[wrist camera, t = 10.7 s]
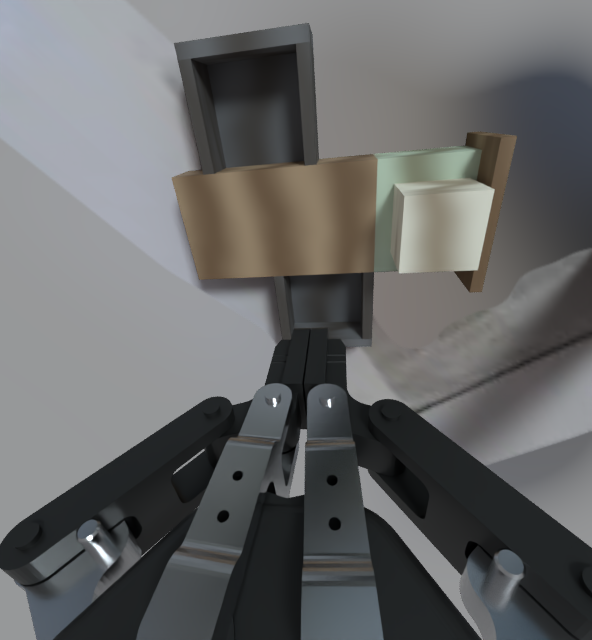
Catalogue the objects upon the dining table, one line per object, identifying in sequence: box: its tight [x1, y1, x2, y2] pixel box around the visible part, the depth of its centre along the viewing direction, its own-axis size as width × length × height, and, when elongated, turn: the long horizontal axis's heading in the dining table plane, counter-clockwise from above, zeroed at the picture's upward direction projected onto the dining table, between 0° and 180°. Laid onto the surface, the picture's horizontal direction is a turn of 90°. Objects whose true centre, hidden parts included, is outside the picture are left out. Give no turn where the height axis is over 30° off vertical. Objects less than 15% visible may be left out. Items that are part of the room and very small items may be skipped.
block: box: [390, 178, 495, 274], centre depth 27 cm, size 6×6×5 cm
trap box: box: [172, 23, 517, 347], centre depth 30 cm, size 27×28×7 cm
